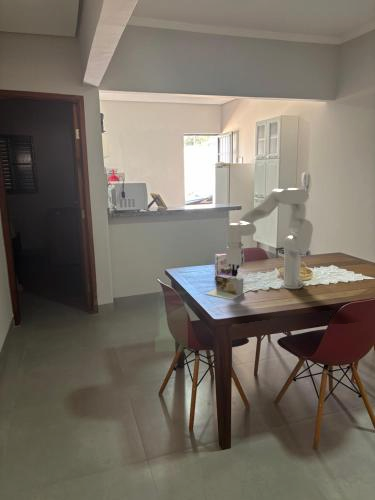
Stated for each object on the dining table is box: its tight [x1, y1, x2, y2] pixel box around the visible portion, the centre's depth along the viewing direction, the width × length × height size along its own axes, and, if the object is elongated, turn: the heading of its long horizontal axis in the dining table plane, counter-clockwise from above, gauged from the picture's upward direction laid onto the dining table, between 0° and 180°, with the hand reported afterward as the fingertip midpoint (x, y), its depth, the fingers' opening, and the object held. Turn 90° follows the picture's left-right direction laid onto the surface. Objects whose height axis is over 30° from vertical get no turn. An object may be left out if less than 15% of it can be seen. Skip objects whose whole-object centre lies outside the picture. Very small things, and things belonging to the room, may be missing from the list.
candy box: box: [214, 253, 237, 279], centre depth 250 cm, size 14×6×16 cm, turn 101°
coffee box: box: [215, 274, 244, 295], centre depth 222 cm, size 9×6×16 cm
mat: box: [205, 288, 247, 301], centre depth 221 cm, size 18×18×1 cm
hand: (234, 275), depth 217 cm, fingers closed
